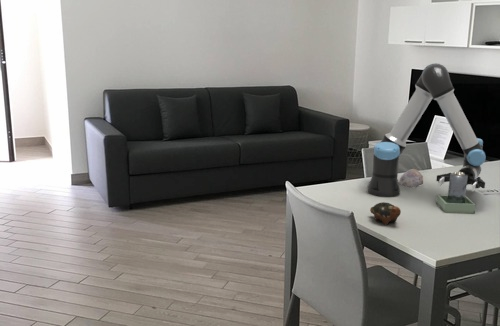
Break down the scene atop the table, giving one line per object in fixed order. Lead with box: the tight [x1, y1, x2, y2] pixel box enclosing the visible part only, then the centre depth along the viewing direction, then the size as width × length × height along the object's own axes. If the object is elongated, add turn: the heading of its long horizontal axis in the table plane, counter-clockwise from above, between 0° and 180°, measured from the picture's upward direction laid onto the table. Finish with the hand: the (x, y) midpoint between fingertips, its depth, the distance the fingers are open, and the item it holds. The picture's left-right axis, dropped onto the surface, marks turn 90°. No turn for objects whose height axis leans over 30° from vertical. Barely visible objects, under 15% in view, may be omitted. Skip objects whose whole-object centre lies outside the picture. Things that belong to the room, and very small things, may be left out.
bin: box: [435, 194, 476, 215], centre depth 232 cm, size 13×13×4 cm
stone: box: [398, 168, 424, 188], centre depth 272 cm, size 17×10×10 cm
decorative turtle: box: [369, 201, 402, 226], centre depth 214 cm, size 10×15×8 cm, turn 36°
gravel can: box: [447, 171, 468, 204], centre depth 230 cm, size 7×7×16 cm
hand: (456, 185), depth 228 cm, fingers open, 13 cm apart
